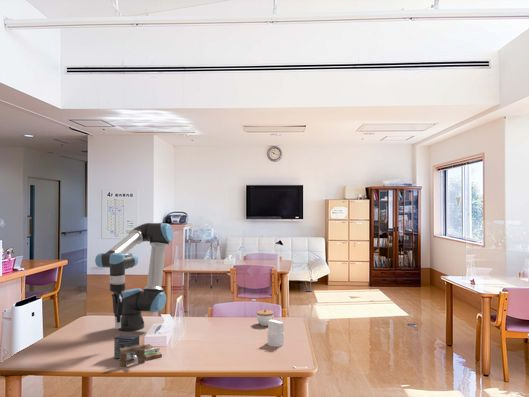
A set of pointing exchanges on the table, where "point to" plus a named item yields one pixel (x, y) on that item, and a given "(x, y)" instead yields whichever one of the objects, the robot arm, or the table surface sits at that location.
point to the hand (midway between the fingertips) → (118, 327)
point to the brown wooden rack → (136, 353)
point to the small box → (124, 343)
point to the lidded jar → (264, 316)
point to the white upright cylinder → (275, 333)
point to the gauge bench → (141, 354)
